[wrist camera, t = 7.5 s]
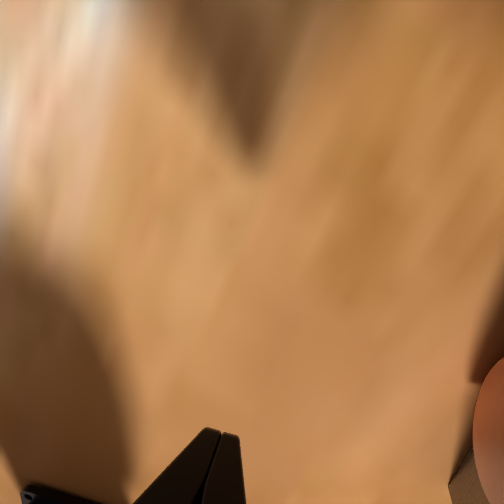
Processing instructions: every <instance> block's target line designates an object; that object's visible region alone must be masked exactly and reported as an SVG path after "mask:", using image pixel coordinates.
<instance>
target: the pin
mask: <svg viewBox="0 0 504 504" xmlns="http://www.w3.org/2000/svg"><path fill="white" fill-rule="evenodd" d="M473 449H474V458H475V464H476V468H477V472H478V476H479V479H480V482H481V485H482V488H483V490H484V493H485V495H486V497H487V499H488V501H489V503H490V504H504V358H502V359H501V360H499V361H498V362H497V363H496V364H495V365H494V366H493V367H492V369H491V370H490V371H489V373H488V375H487V376H486V378H485V380H484V382H483V384H482V386H481V389H480V391H479V395H478V398H477V402H476V406H475V412H474V420H473Z"/></svg>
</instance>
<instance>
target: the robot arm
mask: <svg viewBox="0 0 504 504" xmlns="http://www.w3.org/2000/svg"><path fill="white" fill-rule="evenodd" d="M20 495H21V501H22V504H91V503H88V502H84V501H81V500H78V499H75V498H72V497H69V496H66V495H63V494H59V493H56V492H53V491H50V490H47V489H44V488H41V487H38V486H34V485H30V484H28V485H26V486H25V488H24V489H23V490H22V491H21V493H20ZM133 504H246V497H245V487H244V477H243V468H242V458H241V449H240V440H239V437H238V436H237V435H233V434H230V433H226V432H224V433H222V435H221V431H219V430H216V429H212V428H209V427H206V428H204V429H203V430H202V431H201V432H200V433H199V434H198V435H197V436H196V437H195V438H194V439H193V440H192V441H191V442H190V443H189V444H188V445H187V447H186V448H185V449H184V450H183V451H182V452H181V453H180V454H179V455H178V456H177V457H176V458H175V459H174V460H173V461H172V462H171V464H170V465H169V466H168V467H167V468H166V469H165V470H164V471H163V472H162V473H161V474H160V475H159V476H158V477H157V478H156V479H155V481H154V482H153V483H152V484H151V485H150V486H149V487H148V488H147V489H146V490H145V491H144V492H143V493H142V494H141V495H140V496H139V498H138V499H137V500H136V501H135V502H134V503H133Z"/></svg>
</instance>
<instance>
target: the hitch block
mask: <svg viewBox="0 0 504 504" xmlns="http://www.w3.org/2000/svg"><path fill="white" fill-rule="evenodd" d="M448 489H449V493H450V496H451V500H452V504H490V503H489V501H488V499H487V497H486V495H485V493H484V490H483V488H482V485H481V482H480V479H479V476H478V472H477V468H476V464H475V458H474V449H473V446H472V448H471V450H470V451H469V453H468V454H467V456H466V458H465V459H464V461H463V463H462V464H461V466H460V468H459V469H458V471H457V473H456V474H455V476H454V478H453V479H452V481H451V483H450V484H449V486H448Z"/></svg>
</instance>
